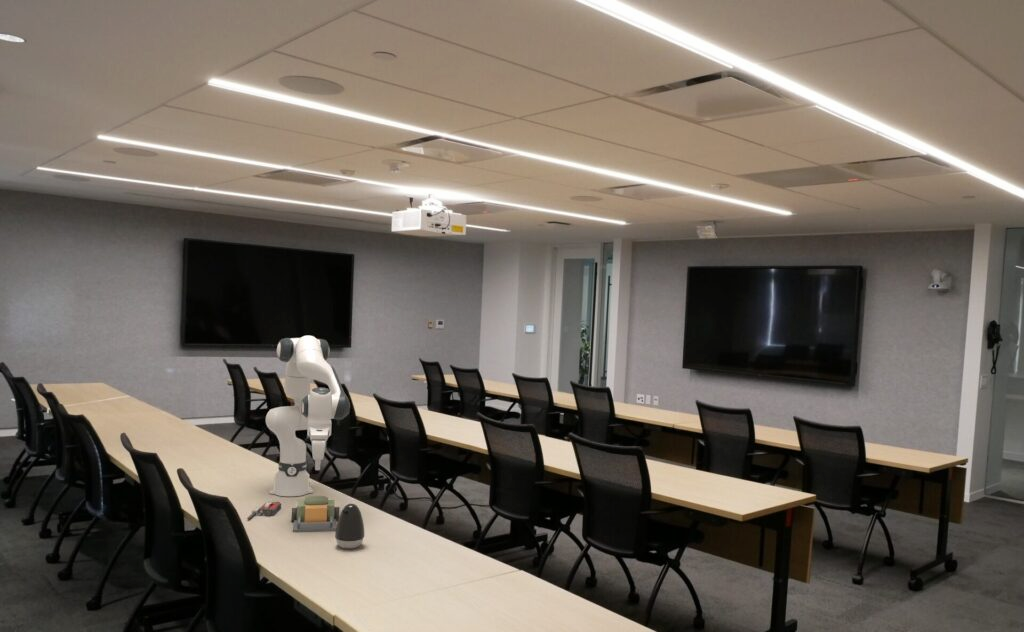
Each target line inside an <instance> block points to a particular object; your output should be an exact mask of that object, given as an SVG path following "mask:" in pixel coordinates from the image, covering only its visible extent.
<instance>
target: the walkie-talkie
mask: <svg viewBox="0 0 1024 632" xmlns="http://www.w3.org/2000/svg"><path fill="white" fill-rule="evenodd" d="M281 509H282V503H281V502H280V501H274V500H272V501H271V500H270V501H267V502H264V504H262V505H261V506H258V507H255V508H254V509H253V510H252V511H251V514H250V515H249V516H248V517H247V520H251V519H252V518H253V517H254V516H258V517H259V516H261V517H274V516H275V515H276V514H278V512H279V511H281Z"/></svg>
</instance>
